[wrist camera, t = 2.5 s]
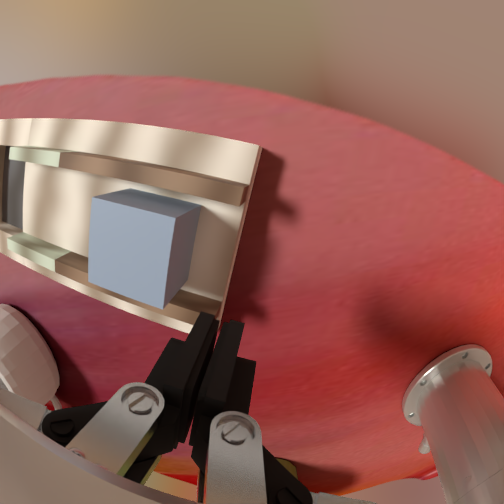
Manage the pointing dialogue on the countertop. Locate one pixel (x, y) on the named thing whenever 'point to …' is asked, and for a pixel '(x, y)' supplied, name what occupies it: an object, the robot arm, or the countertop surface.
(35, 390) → the mug
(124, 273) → the slate block
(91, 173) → the tunnel board
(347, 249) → the countertop surface
